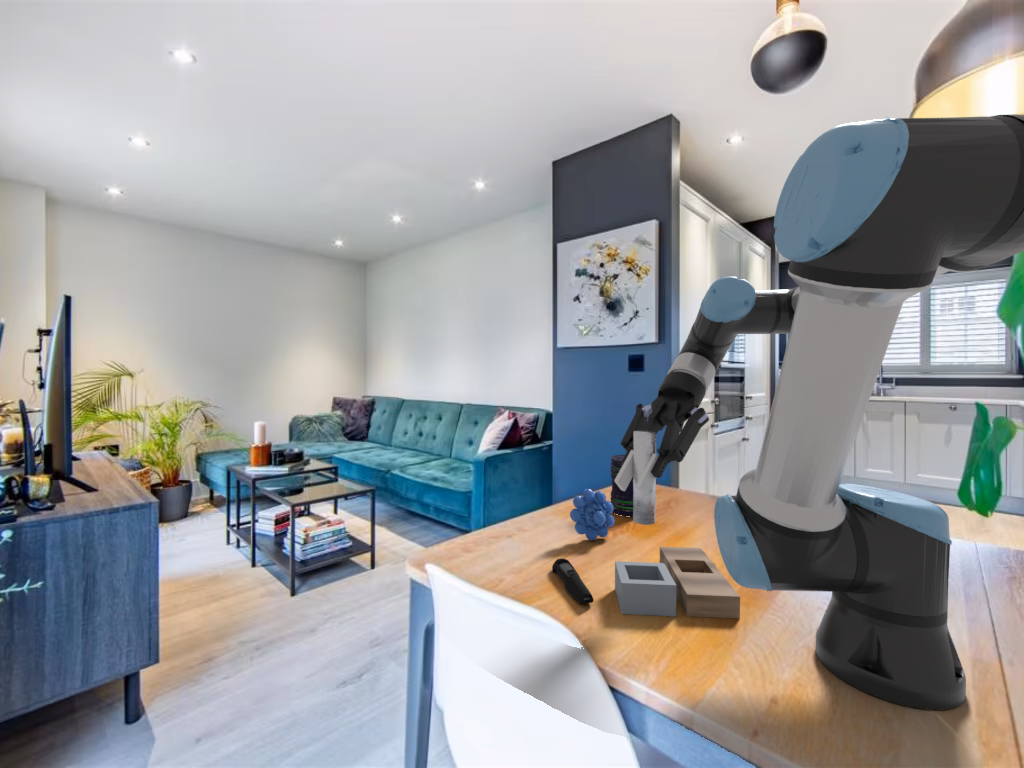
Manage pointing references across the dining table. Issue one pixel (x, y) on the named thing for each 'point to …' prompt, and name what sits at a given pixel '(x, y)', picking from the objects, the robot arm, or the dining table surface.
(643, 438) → the axle
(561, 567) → the electric trimmer
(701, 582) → the beam
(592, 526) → the blue lobed rosette
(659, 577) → the block
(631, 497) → the dark blue ridged cylinder
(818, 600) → the dining table surface
